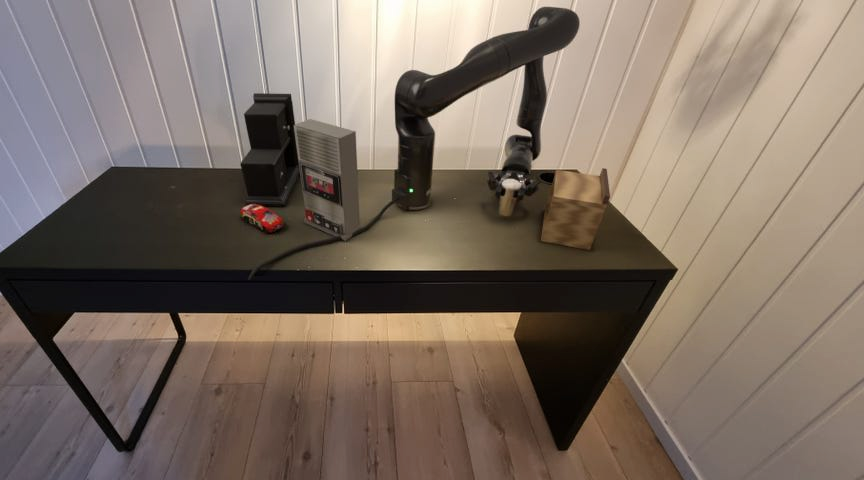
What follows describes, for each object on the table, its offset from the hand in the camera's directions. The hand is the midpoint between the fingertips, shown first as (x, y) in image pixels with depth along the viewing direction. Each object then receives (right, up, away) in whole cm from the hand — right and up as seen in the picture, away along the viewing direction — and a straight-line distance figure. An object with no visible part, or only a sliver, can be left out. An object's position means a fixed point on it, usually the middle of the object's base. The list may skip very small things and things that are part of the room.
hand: (508, 196), depth 99 cm
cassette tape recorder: (-44, -7, +4) cm, 44 cm away
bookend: (-62, +6, +21) cm, 66 cm away
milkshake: (+1, -3, +6) cm, 7 cm away
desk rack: (+15, -8, +3) cm, 17 cm away
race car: (-62, -6, +5) cm, 62 cm away
